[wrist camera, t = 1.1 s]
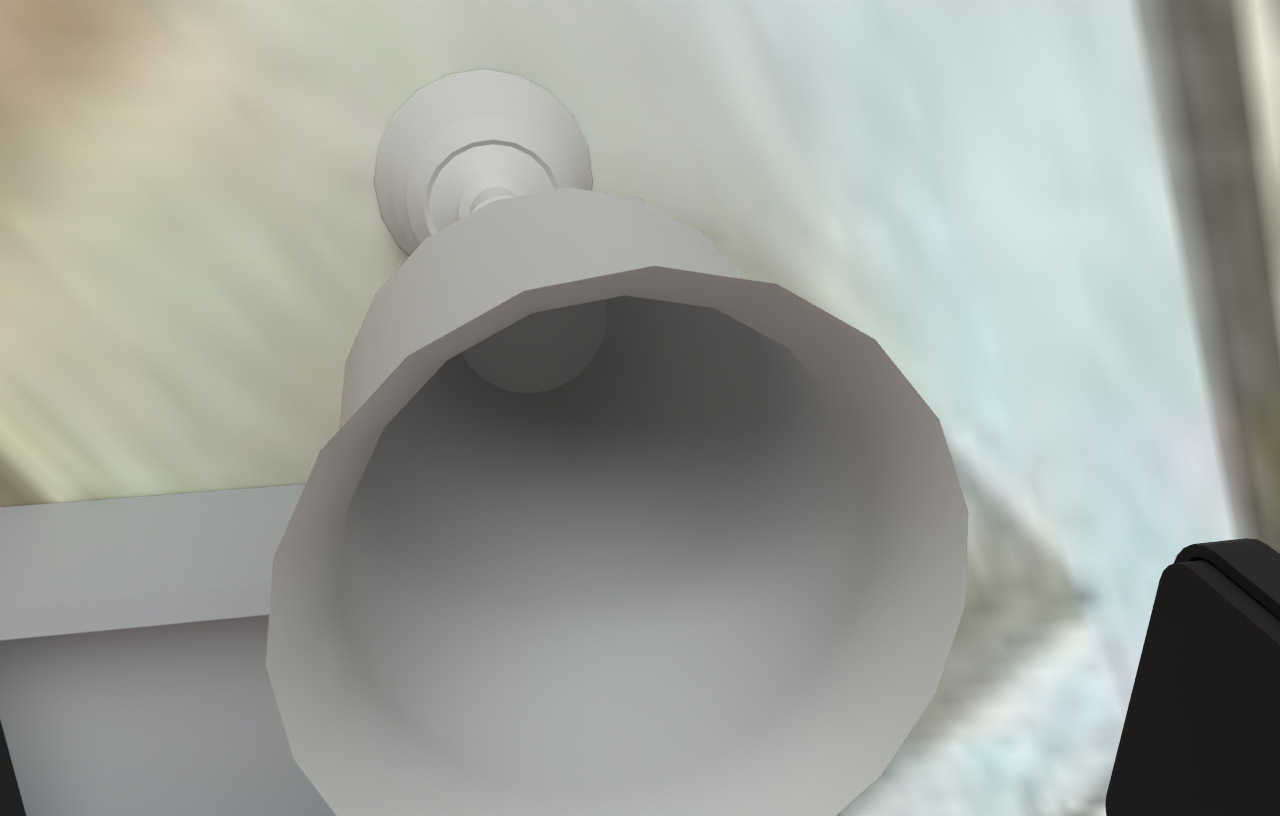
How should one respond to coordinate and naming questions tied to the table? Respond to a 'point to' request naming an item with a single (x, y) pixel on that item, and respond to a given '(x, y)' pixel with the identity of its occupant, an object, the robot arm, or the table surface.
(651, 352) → the chalice
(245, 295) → the table surface
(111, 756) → the holder
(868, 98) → the table surface
